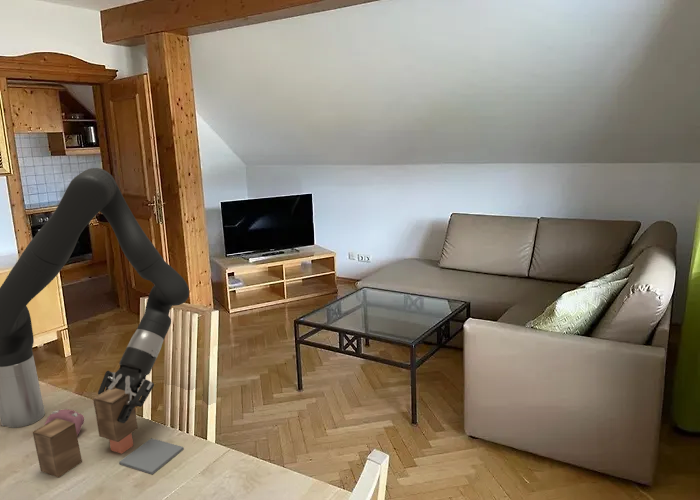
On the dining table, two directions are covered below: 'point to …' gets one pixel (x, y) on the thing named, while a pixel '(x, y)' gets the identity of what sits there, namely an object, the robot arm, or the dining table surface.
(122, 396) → the brown rectangular block
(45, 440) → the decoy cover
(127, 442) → the red cube
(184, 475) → the dining table surface
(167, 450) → the slate mat
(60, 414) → the video game controller
